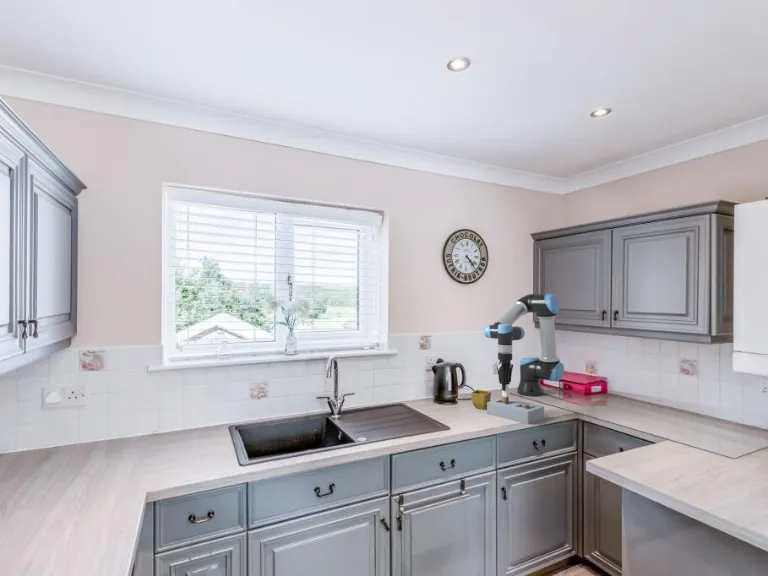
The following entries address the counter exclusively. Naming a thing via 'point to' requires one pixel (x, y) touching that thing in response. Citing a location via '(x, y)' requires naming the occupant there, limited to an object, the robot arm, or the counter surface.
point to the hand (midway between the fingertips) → (505, 396)
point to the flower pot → (480, 398)
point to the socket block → (515, 411)
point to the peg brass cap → (505, 399)
